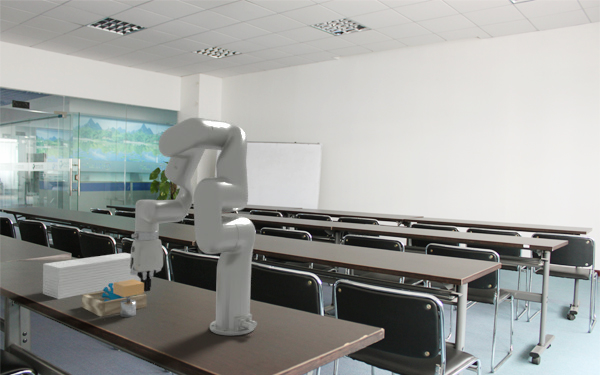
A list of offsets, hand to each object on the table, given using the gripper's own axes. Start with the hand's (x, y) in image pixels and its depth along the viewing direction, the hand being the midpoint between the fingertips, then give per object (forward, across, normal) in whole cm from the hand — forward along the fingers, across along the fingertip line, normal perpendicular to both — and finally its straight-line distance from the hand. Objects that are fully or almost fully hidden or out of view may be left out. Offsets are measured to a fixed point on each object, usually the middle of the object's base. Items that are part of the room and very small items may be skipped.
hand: (145, 290), depth 152 cm
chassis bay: (+4, -10, 0) cm, 11 cm away
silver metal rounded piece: (+4, -12, -10) cm, 16 cm away
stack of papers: (+4, -4, +29) cm, 29 cm away
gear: (+4, -9, -1) cm, 10 cm away
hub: (-3, -12, -10) cm, 16 cm away
